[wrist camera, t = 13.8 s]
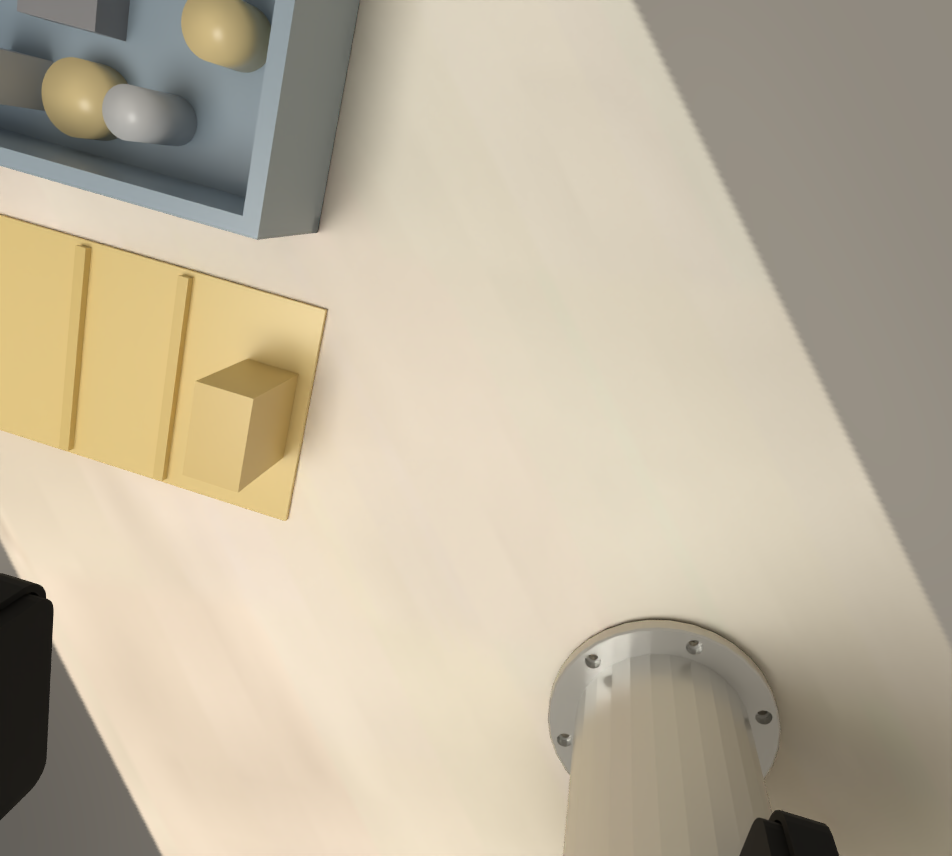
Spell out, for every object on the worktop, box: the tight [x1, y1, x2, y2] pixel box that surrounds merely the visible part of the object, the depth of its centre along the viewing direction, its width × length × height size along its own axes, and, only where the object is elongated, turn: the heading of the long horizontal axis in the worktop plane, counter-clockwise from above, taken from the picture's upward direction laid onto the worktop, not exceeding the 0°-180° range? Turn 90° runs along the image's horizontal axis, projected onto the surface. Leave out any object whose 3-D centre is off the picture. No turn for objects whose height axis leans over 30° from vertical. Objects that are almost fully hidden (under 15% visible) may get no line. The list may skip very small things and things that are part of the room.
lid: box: [0, 214, 327, 521], centre depth 42 cm, size 21×13×6 cm, turn 76°
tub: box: [0, 0, 360, 240], centre depth 36 cm, size 20×12×7 cm, turn 76°
